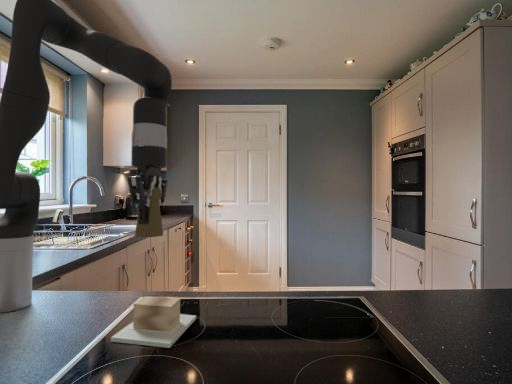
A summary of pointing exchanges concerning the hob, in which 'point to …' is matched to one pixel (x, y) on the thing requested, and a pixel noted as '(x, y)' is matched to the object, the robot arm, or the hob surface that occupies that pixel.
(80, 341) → the hob surface
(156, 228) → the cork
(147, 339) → the board
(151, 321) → the oak block
